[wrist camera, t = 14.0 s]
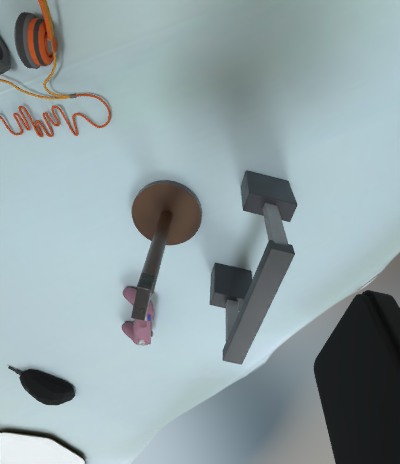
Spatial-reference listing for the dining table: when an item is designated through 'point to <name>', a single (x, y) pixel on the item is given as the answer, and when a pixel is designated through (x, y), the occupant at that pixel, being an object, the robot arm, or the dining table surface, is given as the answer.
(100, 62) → the dining table surface
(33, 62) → the headphones
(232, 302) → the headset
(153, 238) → the headphone stand
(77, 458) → the plate
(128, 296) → the video game controller
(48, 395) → the gaming mouse
